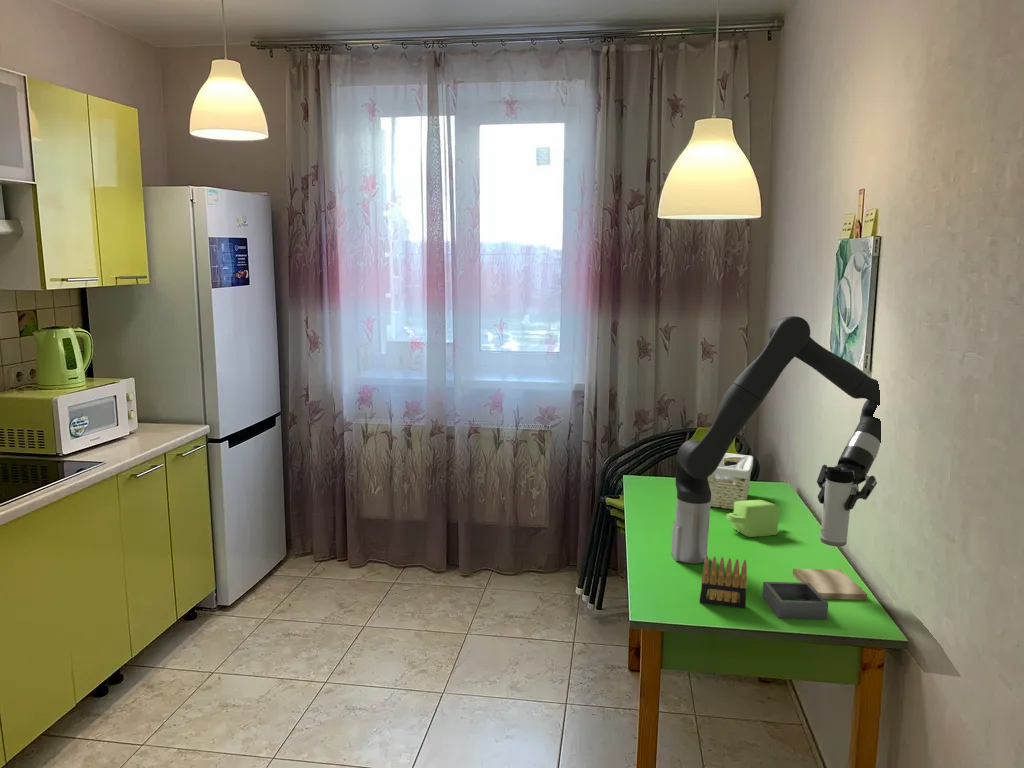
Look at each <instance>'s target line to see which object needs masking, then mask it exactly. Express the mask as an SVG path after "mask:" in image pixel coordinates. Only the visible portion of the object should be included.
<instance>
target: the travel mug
mask: <svg viewBox="0 0 1024 768" xmlns="http://www.w3.org/2000/svg"><path fill="white" fill-rule="evenodd" d="M852 478H853V471H852V470H844V469H841V468H838V467H835V466H827V476H826V483H825V494H824V503H823V504H822V505H823V506H822V507H823V508H822V517H821V528H820V538H819V540H820V542H822V543H823V544H825V545H827V546H830V547H831V546H832V547H837V548H839V547H845V546H847V542H848V534H849V532H848V531H849V525H850V524H849V523H850V512H851V510H850V511H847V510H846V509H845V507H844V506H845V503H846V501H847V499H848V497H849V496H850V494H851V495H852V483H853V479H852Z"/></svg>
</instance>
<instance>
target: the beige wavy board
mask: <svg viewBox="0 0 1024 768" xmlns="http://www.w3.org/2000/svg"><path fill="white" fill-rule="evenodd" d="M792 575H793V577H795V579H797V581H799V582H798V583H810V584H811V585H812V587H813V588H814V589H815V590H816V591H817V592H818V593H819V594H820V595H821V596H822V597H823V598H824V599H825V600H857V601H858V600H859V601H863V600H865V601H866V600H868V593H867V592H866V591H865V590H864V589H862V587H860V586H859V584H857V583H856V582H855V581H854V580H853V579H852V578H851V577H850V576H848V575H847V573H845V572H844V571H843V570H842V569H820V568H819V569H818V568H792Z"/></svg>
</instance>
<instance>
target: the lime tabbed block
mask: <svg viewBox="0 0 1024 768" xmlns="http://www.w3.org/2000/svg"><path fill="white" fill-rule="evenodd" d="M779 513H780V506H779V505H777V504H776V503H772V502H769V501H767V500H763V499H747V500H746V501H736V502H734V509H733V512H729V513H726V520H727V521H730V522H732V529H733V530H734V529H735V530H734V531H736V530H737V531H736V532H738V533H739V532H740V533H739V534H741V533H742V534H741V535H743V536H745V537H748V538H753V537H757V536H758V537H767V536H775V535H778V529H779V516H780V514H779Z"/></svg>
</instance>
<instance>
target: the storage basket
mask: <svg viewBox="0 0 1024 768" xmlns="http://www.w3.org/2000/svg"><path fill="white" fill-rule="evenodd" d="M725 461H726V462H732V463H735V464H732V465H725ZM753 466H754V456H753V455H749V454H748V455H747V454H746V455H745V454H740V453H729V452H726V453H725V455H724V457H723V459H722V460H721V462H720V464H719V465H718V467H717V469H716V470H715V471H714V472H713V473H712V474H711V475H710V476H709V477H708V483H709V487H710V489H711V506H710V507H714V508H722V509H730V510H734V502H736V501H746V500H748V495H749V489H750V481H751V472H752V470H753Z"/></svg>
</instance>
